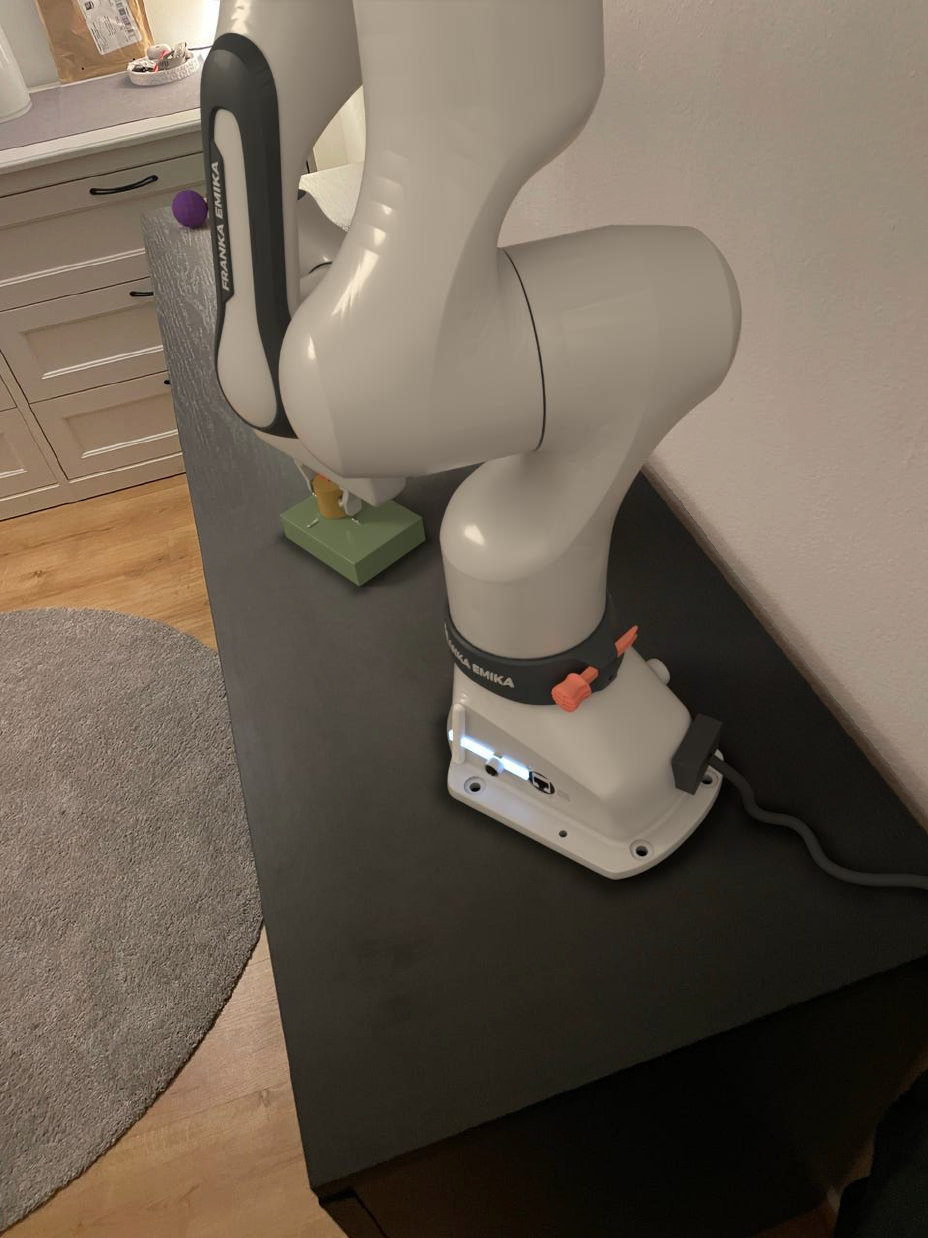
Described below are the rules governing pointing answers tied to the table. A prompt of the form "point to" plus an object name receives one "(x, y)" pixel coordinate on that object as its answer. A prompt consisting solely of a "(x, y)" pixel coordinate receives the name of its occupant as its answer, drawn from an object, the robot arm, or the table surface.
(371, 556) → the dial panel
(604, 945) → the table surface
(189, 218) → the kendama
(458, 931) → the table surface
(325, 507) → the tap knob
